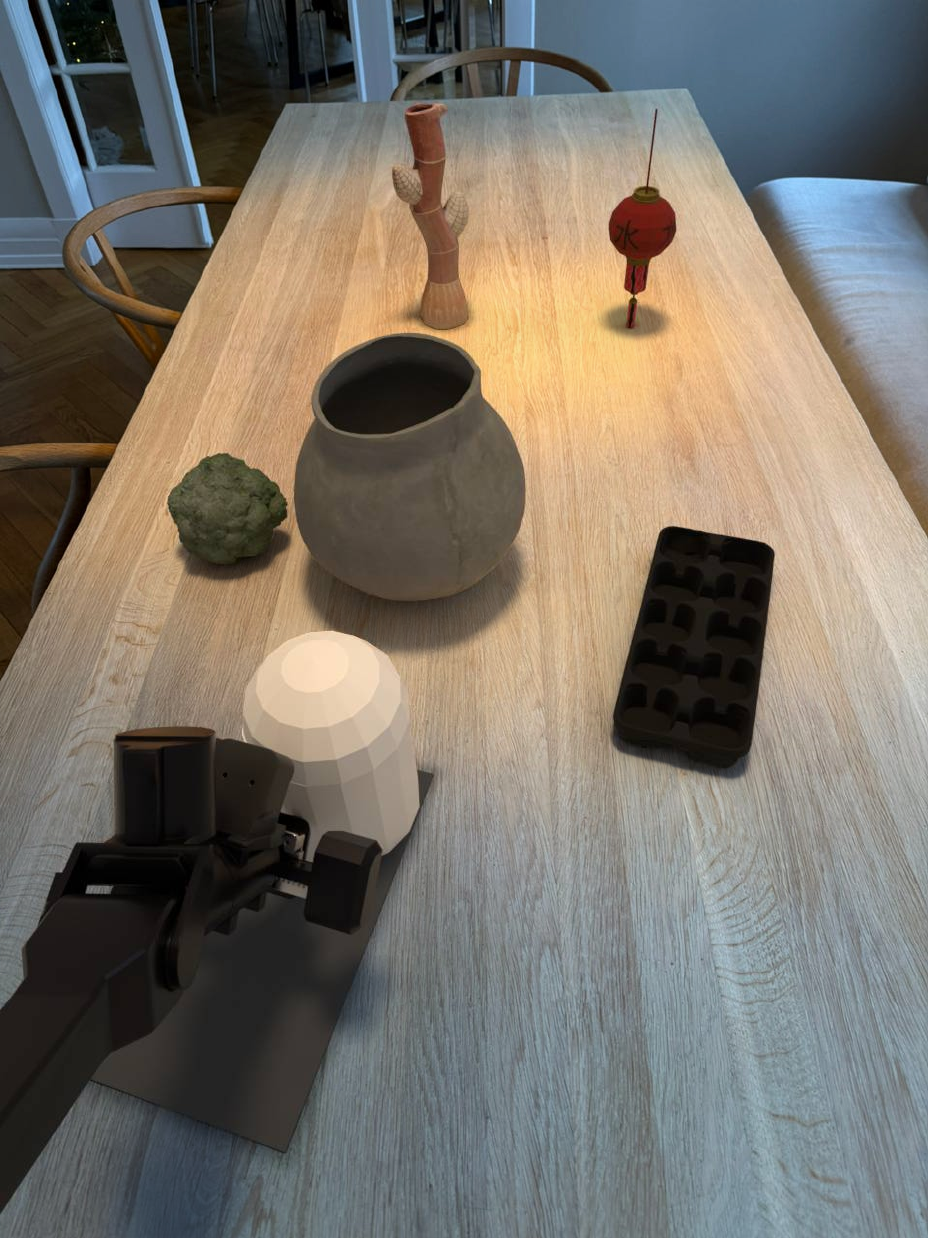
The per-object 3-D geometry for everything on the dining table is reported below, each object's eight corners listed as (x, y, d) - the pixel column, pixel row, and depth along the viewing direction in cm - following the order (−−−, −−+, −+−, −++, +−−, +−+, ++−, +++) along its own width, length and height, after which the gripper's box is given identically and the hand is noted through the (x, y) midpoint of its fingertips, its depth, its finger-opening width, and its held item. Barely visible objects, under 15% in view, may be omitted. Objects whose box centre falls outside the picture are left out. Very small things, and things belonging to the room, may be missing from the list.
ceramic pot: (268, 558, 102) (217, 368, 83) (430, 467, 112) (416, 280, 93) (399, 682, 89) (372, 490, 70) (568, 567, 99) (584, 374, 81)
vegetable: (312, 481, 107) (294, 512, 94) (255, 560, 111) (230, 603, 97) (226, 420, 104) (195, 443, 91) (171, 504, 108) (132, 539, 94)
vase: (469, 303, 139) (463, 92, 117) (475, 327, 134) (470, 111, 112) (402, 309, 139) (384, 98, 116) (406, 333, 134) (387, 118, 112)
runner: (285, 1153, 62) (285, 1152, 61) (89, 1079, 65) (88, 1078, 65) (433, 775, 82) (433, 773, 82) (277, 734, 85) (277, 733, 85)
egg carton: (610, 767, 82) (614, 744, 79) (607, 545, 102) (610, 520, 99) (805, 780, 80) (816, 757, 77) (763, 552, 100) (771, 527, 97)
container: (403, 724, 85) (383, 580, 70) (437, 845, 77) (422, 710, 62) (265, 758, 83) (214, 616, 68) (283, 886, 75) (230, 756, 60)
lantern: (673, 323, 133) (709, 105, 111) (639, 350, 129) (668, 128, 107) (621, 304, 138) (645, 90, 115) (586, 329, 133) (604, 111, 111)
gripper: (355, 802, 52) (427, 753, 67) (85, 728, 56) (210, 697, 72) (321, 978, 53) (400, 891, 68) (58, 893, 57) (187, 829, 73)
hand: (297, 822), depth 70 cm, fingers closed, pressing on container
